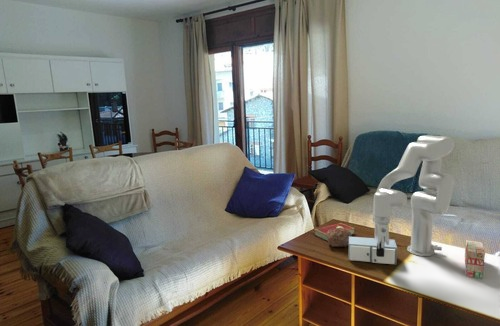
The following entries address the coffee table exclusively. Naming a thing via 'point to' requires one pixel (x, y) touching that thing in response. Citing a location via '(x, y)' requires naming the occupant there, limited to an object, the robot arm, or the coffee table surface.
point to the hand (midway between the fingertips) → (380, 255)
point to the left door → (385, 256)
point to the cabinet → (365, 248)
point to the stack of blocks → (474, 259)
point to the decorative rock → (338, 237)
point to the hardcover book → (323, 231)
